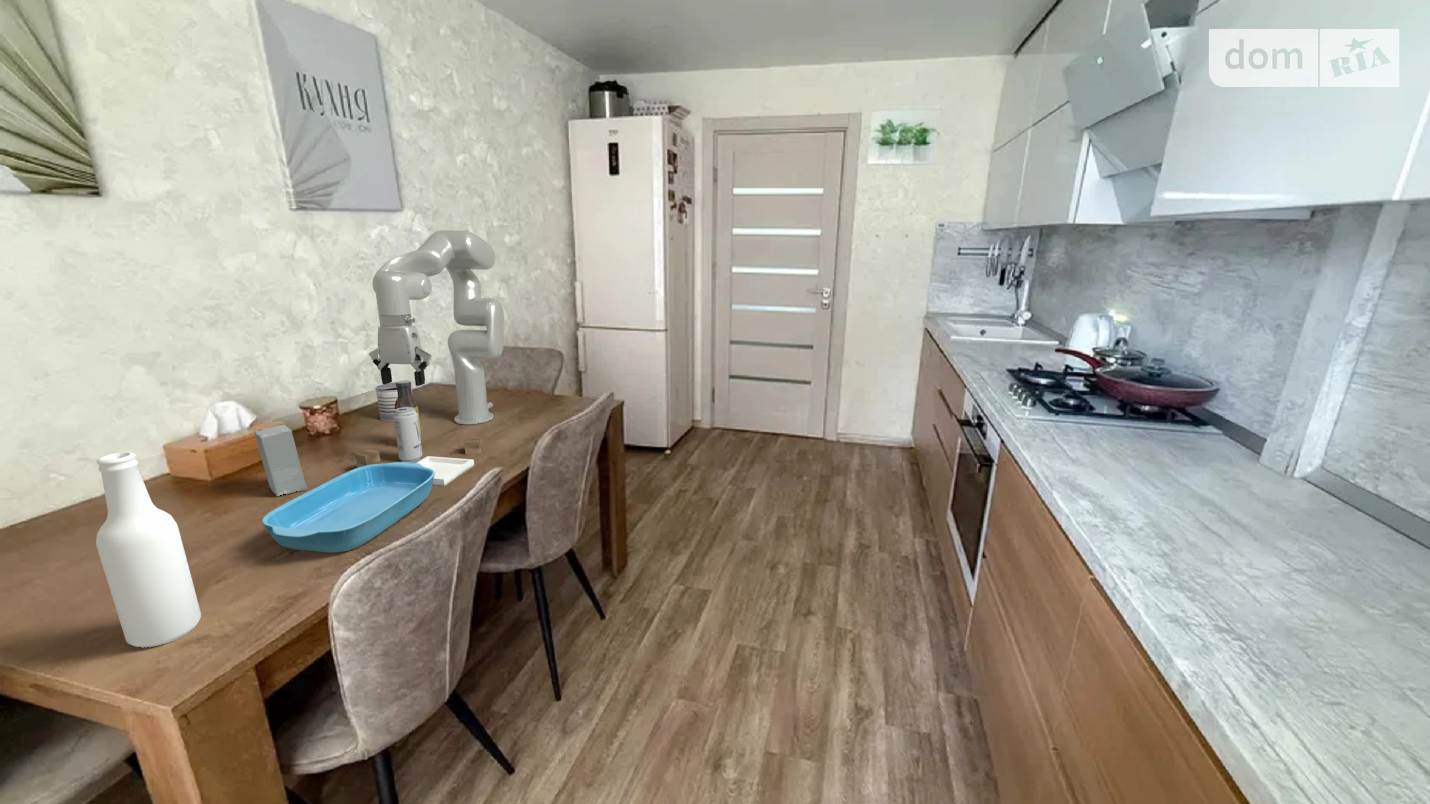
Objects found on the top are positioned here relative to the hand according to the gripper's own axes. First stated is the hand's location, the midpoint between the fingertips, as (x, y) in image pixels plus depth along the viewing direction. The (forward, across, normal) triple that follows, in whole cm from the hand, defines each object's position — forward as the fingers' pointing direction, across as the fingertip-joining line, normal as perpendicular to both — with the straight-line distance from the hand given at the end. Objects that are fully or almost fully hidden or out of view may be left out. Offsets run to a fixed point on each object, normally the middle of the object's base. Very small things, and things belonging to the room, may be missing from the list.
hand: (403, 384), depth 154 cm
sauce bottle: (+23, +10, -13) cm, 28 cm away
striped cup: (+23, +33, -39) cm, 55 cm away
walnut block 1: (+23, +8, +7) cm, 25 cm away
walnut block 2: (+23, -12, -11) cm, 28 cm away
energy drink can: (+23, +2, -2) cm, 23 cm away
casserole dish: (+24, -10, +33) cm, 42 cm away
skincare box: (+23, +20, +22) cm, 37 cm away
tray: (+23, -11, +6) cm, 26 cm away
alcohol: (+24, -6, +72) cm, 76 cm away
